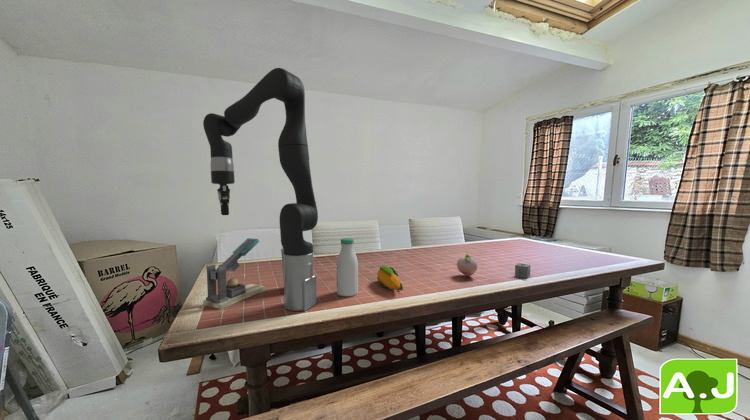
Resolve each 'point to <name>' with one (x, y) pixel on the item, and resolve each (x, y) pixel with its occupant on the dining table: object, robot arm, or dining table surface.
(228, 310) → the dining table surface
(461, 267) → the decorative fruit
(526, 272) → the grey cube
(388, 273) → the corn
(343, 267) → the milk bottle
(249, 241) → the lever
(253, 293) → the cracker base
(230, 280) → the nut
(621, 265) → the dining table surface
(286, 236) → the robot arm
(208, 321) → the dining table surface
